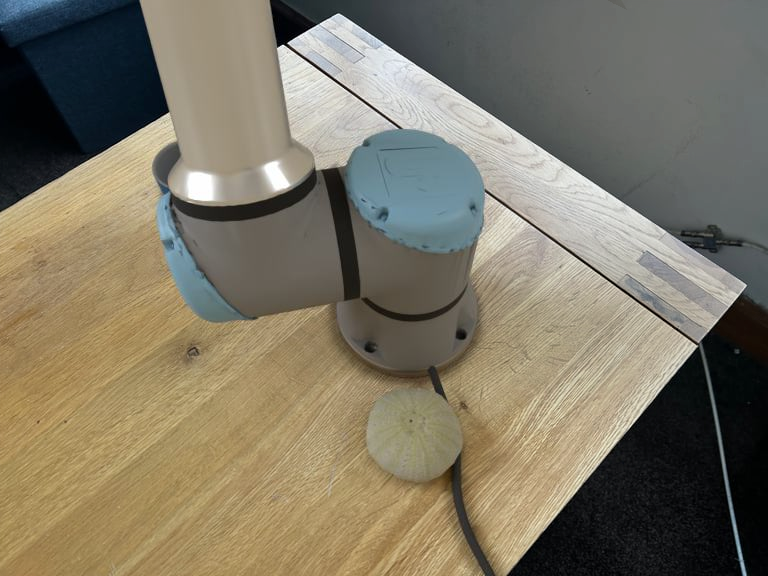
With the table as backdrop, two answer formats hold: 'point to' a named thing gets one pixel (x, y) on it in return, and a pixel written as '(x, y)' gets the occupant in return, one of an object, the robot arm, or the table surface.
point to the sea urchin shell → (413, 434)
